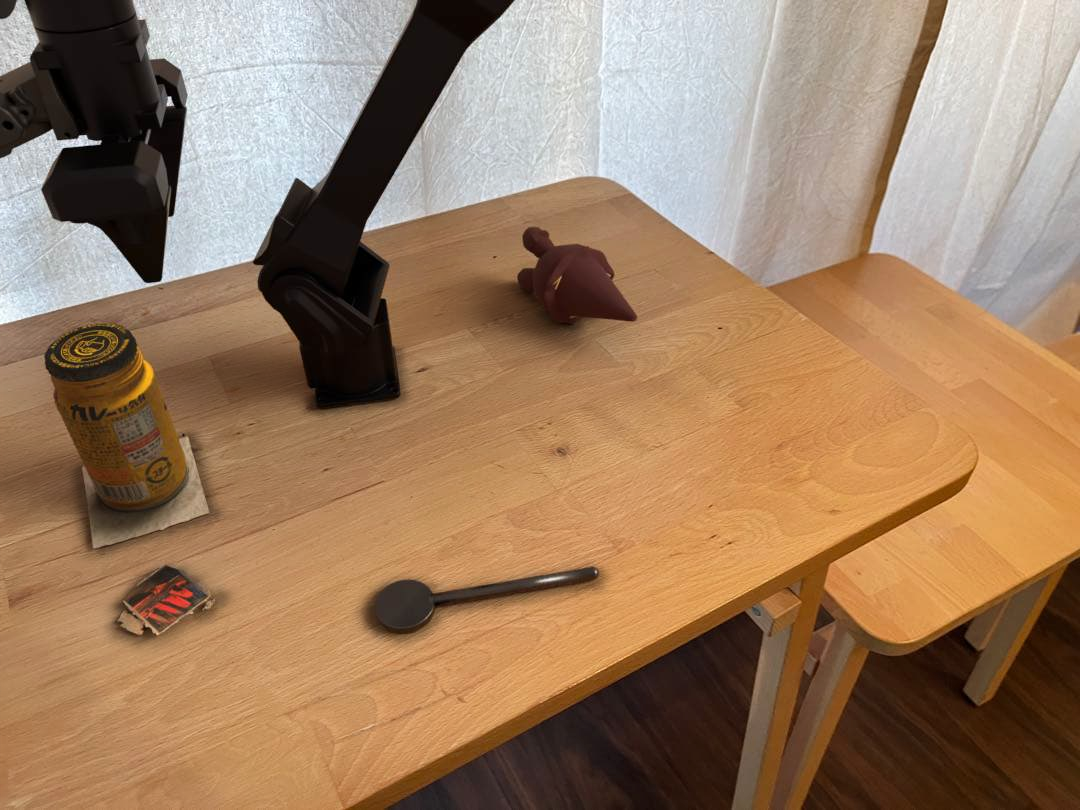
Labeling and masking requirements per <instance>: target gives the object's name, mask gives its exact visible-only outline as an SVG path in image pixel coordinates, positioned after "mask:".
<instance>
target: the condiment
mask: <svg viewBox="0 0 1080 810" xmlns="http://www.w3.org/2000/svg"><path fill="white" fill-rule="evenodd" d="M43 357H44V360H45V361H44V366H45V370H46V371H47V372H48V374H49V375H50V381H51V384H52V385H53V387H54V390H53V401H54V405H55V407H56V409H57V411H58V413H59V415H60V417H61V418H62V419H61V420H62V421H63V424H64V426H65V428H66V430H67V432H68V434H69V436H70V439H71V440H72V442H73V445H74V447H75V450H76V451H77V453H78V455H79V457H80V460H81V462H82V464H83V466H81V471H82V476H83V484H84V490H85V496H86V504H87V514H88V520H89V525H90V534H91V543H92V548H93V549H98V548H101V547H104V546H110V545H114V544H117V543H120V542H124V541H127V540H129V539H134V538H138V537H141V536H144V535H147V534H150V533H154V532H156V531H159V530H160V531H164V530H165V529H167V528H169V527H170V526H173V525H177V524H179V523H184V522H188V521H190V520H193V519H195V518H197V517H201V516H203V515H204V516H205V515H206V514H210V509H209V506H208V503H207V499H206V495H205V492H204V488H203V484H202V482H201V478H200V474H199V471H198V468H197V464H196V460H195V457H194V453H193V449H192V446H191V442H190V440H189V436H188V435H186V436H183V437H180V438H179V437H178V436H179V435H178V434H177V432H176V429H175V426H174V423H173V418H172V415H171V414H170V410H169V409H168V407H167V406H168V405H167V404H166V402H165V399H164V396H163V395H164V394H163V393H162V390H161V388H160V384H159V381H158V379H157V376H156V374H155V370H154V369H153V367H152V365H151V364H150V363H149V362H148V361H147V360H145V359H144V356H143V353H142V352H141V349H140V348H139V346H138V342H137V339H136V338H135V336H134V335H133V333H132V332H131V330H129V329H127V328H125V327H123V326H122V325H121V324H115V323H90V324H86V325H82V326H80V327H74V328H73V329H72V330H69V331H67V332H65V333H63V334H62V335H60V336H58V338H56V339H55V340H54V341H53V342H52V343H50V345H49V346H48V347H47V350H46V351H45V353H44V356H43Z"/></svg>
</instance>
